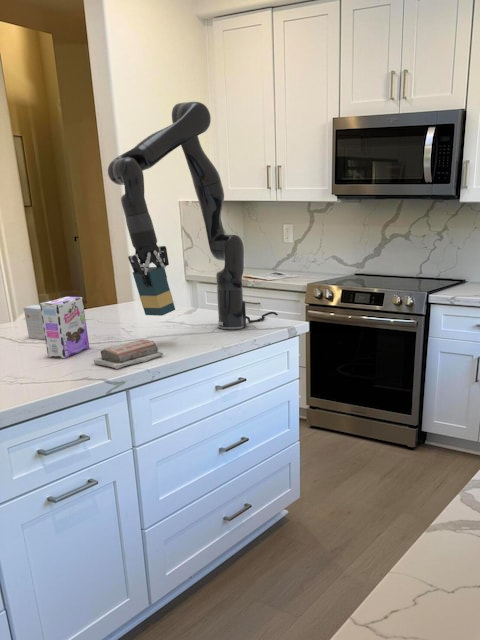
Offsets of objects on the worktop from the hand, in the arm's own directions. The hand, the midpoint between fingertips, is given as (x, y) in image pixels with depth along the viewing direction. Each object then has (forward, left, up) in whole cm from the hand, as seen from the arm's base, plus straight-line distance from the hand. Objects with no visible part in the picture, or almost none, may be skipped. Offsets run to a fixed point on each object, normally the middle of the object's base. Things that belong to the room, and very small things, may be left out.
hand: (156, 283), depth 192 cm
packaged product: (+16, +13, -20) cm, 28 cm away
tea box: (0, -2, -3) cm, 3 cm away
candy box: (+27, -7, -20) cm, 35 cm away
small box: (+28, -34, -20) cm, 49 cm away
